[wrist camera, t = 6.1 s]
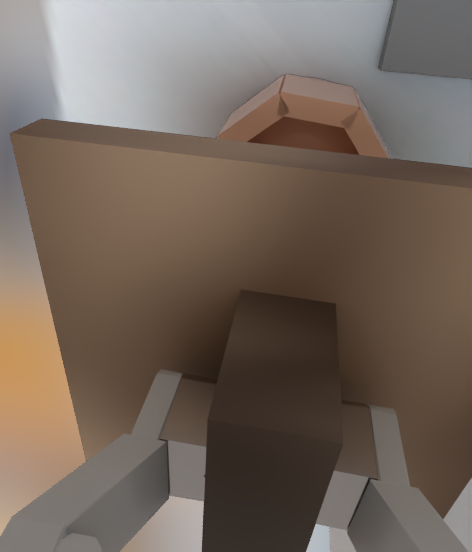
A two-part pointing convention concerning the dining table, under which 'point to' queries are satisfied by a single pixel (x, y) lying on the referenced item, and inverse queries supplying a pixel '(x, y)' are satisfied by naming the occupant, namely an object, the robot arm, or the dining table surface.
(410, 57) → the mat
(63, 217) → the lid
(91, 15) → the dining table surface
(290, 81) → the bowl
